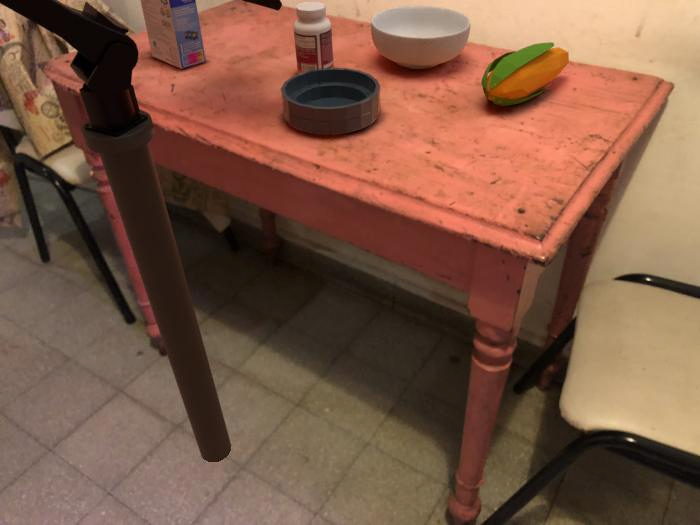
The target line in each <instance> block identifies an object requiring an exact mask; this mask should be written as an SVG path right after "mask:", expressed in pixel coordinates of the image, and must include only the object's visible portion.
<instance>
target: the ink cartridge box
mask: <svg viewBox="0 0 700 525" xmlns="http://www.w3.org/2000/svg"><path fill="white" fill-rule="evenodd" d="M140 6H141V11H142V15H143V19H144V23H145V28H146V33H147V38H148V43H149V48H150V53H151V57H153V58H155V59H157V60H160V61H162V62H164V63H167V64H169V65H171V66H174V67H176V68H178V69H180V70H182V69H186V68H189V67H193V66H196V65H199V64H204V63H206V61H207V59H206V53H205V48H204V42H203V36H202V29H201V25H200V19H199V12H198V6H197V1H196V0H140Z"/></svg>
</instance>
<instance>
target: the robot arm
mask: <svg viewBox="0 0 700 525" xmlns="http://www.w3.org/2000/svg"><path fill="white" fill-rule="evenodd" d="M241 1H242V2H244V3H250V4H253V5H256V6H260V7H264V8H266V9H267V8H268V9H270V10H274V11H280V10H281V8H282V7H283V3H282V1H281V0H241ZM0 5H2V6H3V7H6V8H7V9H9V10H11V11H13V12H14V13H16V14H18V15H20V16H22V17H24V18H25V19H28V20H29V21H31V22H33V23H34V24H36V25H38V26H39V27H41V28H43V29H45V30H47V31H49V32H50V33H52V34H54V35H56V36H58V37H59V38H61V39H62V40H63V41H64V42H65V43H67V44H68V45H69V46H71V47H72V48H73V49H74V50H76V51H77V52H76V53H75V55H74V57H73V59H72V60H71V61H70V64H69V66H70V69H71V70H72V71H73V72H74V73H75V75H76V76H77V78H79V79H80V80H81V81H82V82H83V84H82V87H80V88H79V89H78V90H79V94H80V97H81V100H82V103H83V105H84V109H85V112H86V114H87V118H88V119H89V121H90V122H89V123H87V124H85V125H84V128H85V129H86V130H90V131H94V132H98V133H102V134H106V135H109V136H113V137H119V136H121V135H123V134H124V133H126V132H127V131H129V130H131V129H132V128H134V127H136V126H137V125H139V124H140V123H142V122H144V121H145V120H147V119H148V116H147V115H145V114H140V113H139V112H140V110H141V109H140V105H139V102H138V99H137V98H138V97H137V96H136V91H135V87H134V85H133V84H132V79H133V70H134V69H135V67H137V64H138V61H139V53H140V52H139V49H138V45H137V43H136V42H135V40H134V39H133V38H131V37H130V36H129V35H128V34H127V33H128V32H130V31H129V29H128V28H127V27H126V26H124V25H123V24H122V23H121V22H119V21H118V20H116V18H114V17H112V16H108V15H105V14H103V13H102V12H101V11H99V10H98V9H97V8H96V7H94V6H93V5H92V4H90V3H89V2H88V1H85V2H84V5H83V8H82V10H80V9H77V8H74V7H71V6H68V5H67V4H64V3H63V2H61V1H60V0H0Z"/></svg>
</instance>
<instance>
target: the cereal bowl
mask: <svg viewBox="0 0 700 525" xmlns="http://www.w3.org/2000/svg"><path fill="white" fill-rule="evenodd" d="M470 33H471V19H470V18H469V16H467V15H465V14H464V13H462V12H460V11H458V10H454V9H450V8H447V7H441V6H440V7H439V6H433V5H402V6H395V7H390V8H386V9H384V10H381V11H379V12H377V13H376V14H374V15H373V16H372V18H371V22H370V35H371V40H372V44H373V46H374V47H375V49H376V50H377V52H378V53H379V54H380V55H382V56H383V57H384V58H386V59H388V60H390V62H391V61H392V62H395V63H396V64H397V65H399V66H401V67H403V68H406V69H409V70H410V69H411V70H426V69H431V68H434V67H438V65H440V64H444V63H447V62H449V61H451V60H452V59H455V58H456V57H457V56H458V55H460V54H461V53H462V52H463V50H464V49H465V47H466V46H467V43H468V41H469V37H470Z"/></svg>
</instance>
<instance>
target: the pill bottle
mask: <svg viewBox="0 0 700 525" xmlns="http://www.w3.org/2000/svg"><path fill="white" fill-rule="evenodd" d="M295 10H296V17H297V19H295V21H294V22H293V25H292V26H293V38H294V48H295V58H296V59H295V60H296V69H297V74H300V73H302V72H306V71H310V70H315V69H322V68H335V65H334V64H335V63H334V50H333V48H334V46H333V33H332V32H333V31H332V22H331V20H330V19H329V18H328V17H326V15H327V13H326V12H327V8H326V4H325V3H324V2H319V1H306V2H301V3H299V4H297V5H296V6H295Z"/></svg>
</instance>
